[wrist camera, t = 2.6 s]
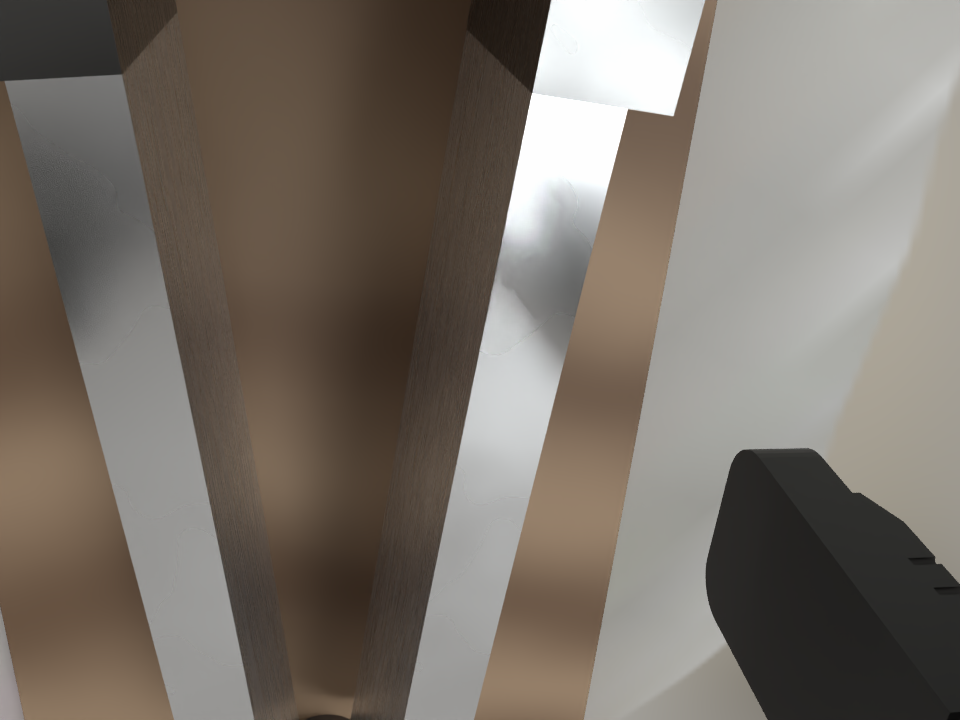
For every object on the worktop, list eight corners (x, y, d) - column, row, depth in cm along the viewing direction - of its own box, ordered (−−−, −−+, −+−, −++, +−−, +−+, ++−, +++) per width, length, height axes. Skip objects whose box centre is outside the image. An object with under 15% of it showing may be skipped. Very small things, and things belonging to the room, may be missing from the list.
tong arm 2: (301, 736, 22) (301, 949, 18) (225, 748, 22) (205, 967, 17) (138, -216, 13) (53, -260, 8) (2, -214, 13) (-158, -258, 8)
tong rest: (553, 772, 28) (628, 1043, 22) (68, 818, 26) (-12, 1142, 19) (774, -522, 14) (1165, -847, 8) (-228, -706, 12) (-887, -1421, 5)
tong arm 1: (420, 731, 23) (448, 936, 18) (347, 733, 22) (358, 941, 18) (613, -153, 14) (749, -162, 10) (500, -178, 14) (592, -201, 9)
